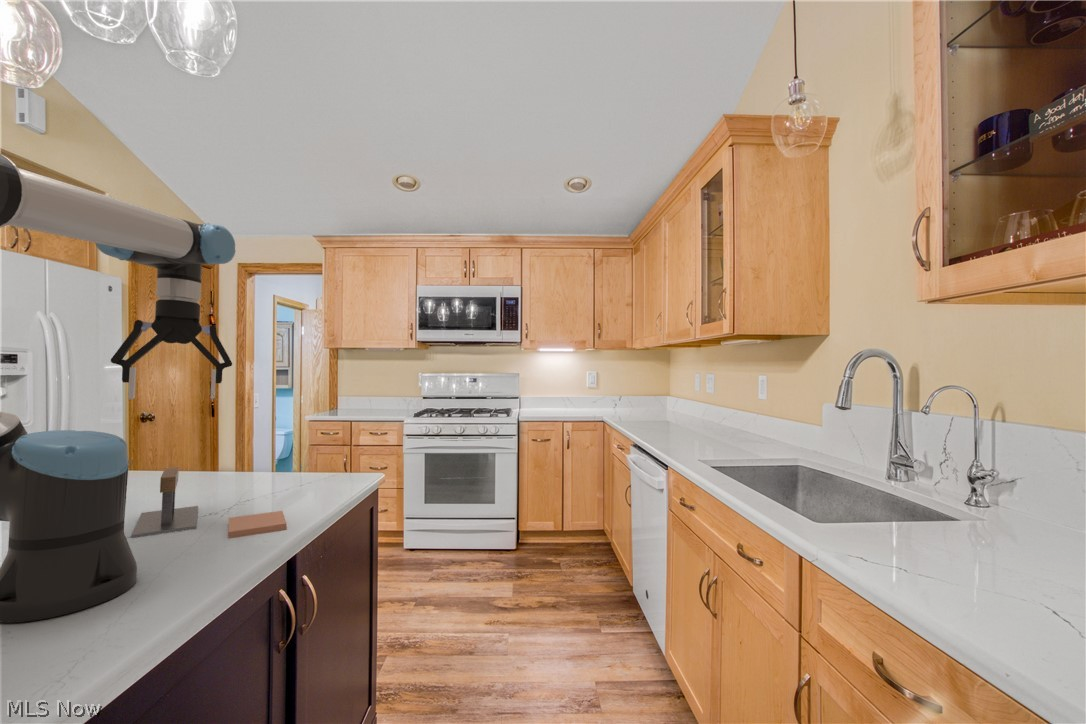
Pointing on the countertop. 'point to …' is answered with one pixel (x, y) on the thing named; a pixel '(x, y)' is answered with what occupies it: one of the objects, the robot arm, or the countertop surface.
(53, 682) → the countertop surface
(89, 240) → the robot arm
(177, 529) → the trowel
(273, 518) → the tile
